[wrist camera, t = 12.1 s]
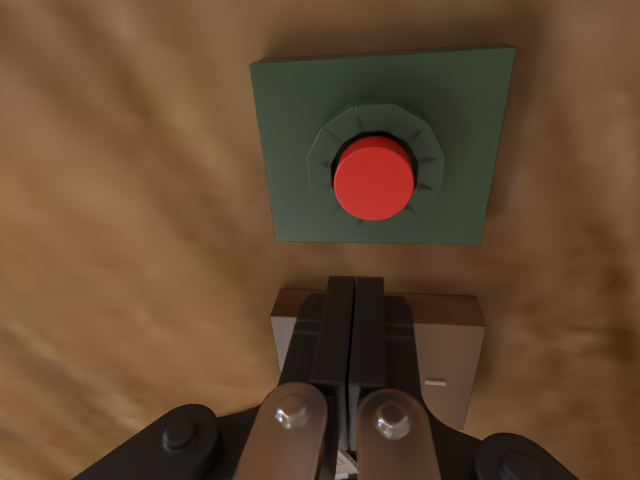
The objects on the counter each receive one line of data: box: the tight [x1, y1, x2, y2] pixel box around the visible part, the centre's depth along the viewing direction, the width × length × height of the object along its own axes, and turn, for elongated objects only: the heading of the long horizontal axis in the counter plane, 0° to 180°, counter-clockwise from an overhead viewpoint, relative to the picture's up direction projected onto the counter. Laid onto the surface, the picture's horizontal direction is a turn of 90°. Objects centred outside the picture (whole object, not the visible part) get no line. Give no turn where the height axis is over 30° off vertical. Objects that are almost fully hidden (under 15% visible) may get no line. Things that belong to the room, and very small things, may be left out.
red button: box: [334, 136, 414, 220], centre depth 17 cm, size 4×4×2 cm
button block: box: [249, 44, 516, 245], centre depth 19 cm, size 12×10×4 cm
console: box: [270, 289, 486, 430], centre depth 28 cm, size 14×11×3 cm
